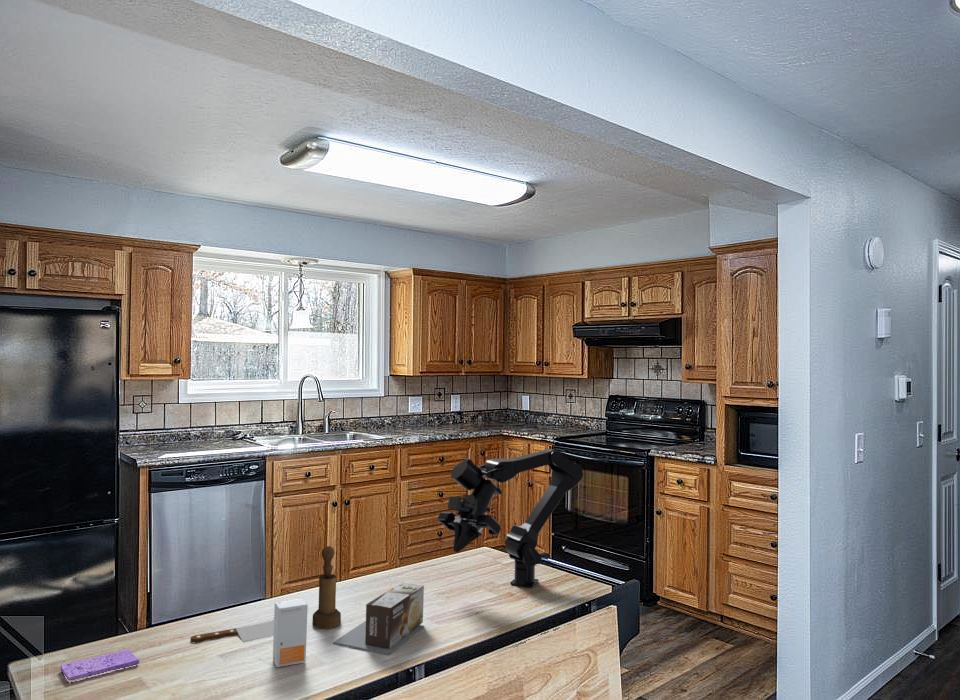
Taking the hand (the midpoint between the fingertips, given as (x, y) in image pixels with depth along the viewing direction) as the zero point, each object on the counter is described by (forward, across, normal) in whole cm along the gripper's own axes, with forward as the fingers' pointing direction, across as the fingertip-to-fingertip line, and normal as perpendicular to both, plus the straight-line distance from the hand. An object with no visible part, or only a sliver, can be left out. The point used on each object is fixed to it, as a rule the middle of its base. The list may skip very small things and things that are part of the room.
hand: (455, 551), depth 175 cm
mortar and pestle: (+30, -12, -16) cm, 36 cm away
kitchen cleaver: (+39, -20, -28) cm, 52 cm away
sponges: (+58, -24, -51) cm, 81 cm away
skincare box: (+41, -1, -28) cm, 50 cm away
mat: (+27, +2, -11) cm, 30 cm away
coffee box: (+17, +2, -7) cm, 19 cm away
